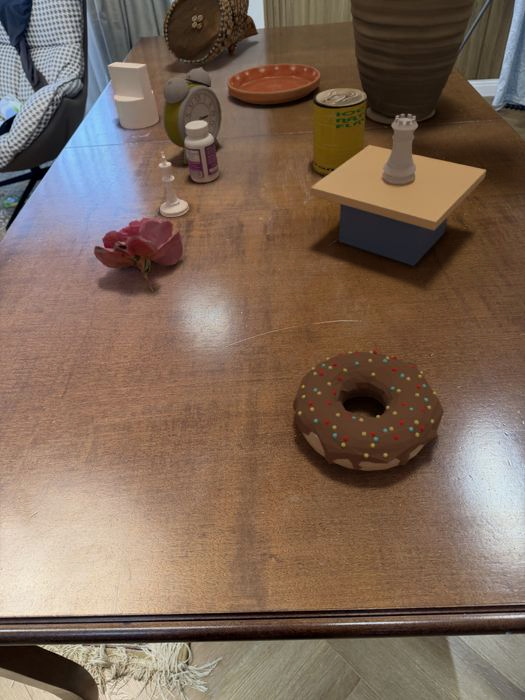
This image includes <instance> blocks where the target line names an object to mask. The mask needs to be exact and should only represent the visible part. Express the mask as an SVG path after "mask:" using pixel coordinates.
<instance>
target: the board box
mask: <svg viewBox="0 0 525 700" xmlns="http://www.w3.org/2000/svg"><path fill="white" fill-rule="evenodd" d="M391 151H392V148H391V149H390V148H385V147H380V146H376V145H372V144H368V145H367V146H366V147H363V150H362V151H360V152H359V153H358V154H356V155H355V156H353V157H352V158H351V159H349V160H348V161H346V162H345V163H344V164H342V165H341V166H340V167H338V168H337V169H335V170H334V171H333V172H331V173H330V174H328V175H325V176H324V177H323V178H322V179H320V180H319V181H317V182H316V183H314V184H313V185H312V186H310V196H312V197H316V198H319V199H322V200H326V201H329V202H333V203H335V204H339V207H340V209H339V235H338V242H340V243H342V244H345V245H349V246H351V247H354V248H358V249H361V250H364V251H367V252H370V253H372V254H376V255H379V256H382V257H385V258H388V259H391V260H394V261H398V262H400V263H403V264H406V265H409V266H413V267H414V266H415V265H416V264H417V263H418V262H419V261H420V260H421V259H422V257H424V256H425V254H427V252H429V250H431V248H432V247H433V246H434V245H435V244H436V242H438V240H439V239H440V238H441V237H442V236H443V235H445V231H446V227H447V221H448V217H449V216H450V215H451V214H452V213H453V212H454V211H455V209H457V208H458V207H459V206H460V204H461V203H462V202H463V201H464V200H465V199H466V198H467V197H468V196H469V195H470V194H471V193H472V192H473V191H474V190H475V189H476V188H477V187H478V186H479V185H480V183H481V182H483V180H484V179H485V177H486V174H487V169H484V168H479V167H476V166H475V167H474V166H470V165H465V164H462V163H461V164H459V163H455V162H452V161H447V160H441V159H437V158H432V157H429V156H423V155H419V154H414V153H412V159H413V160H414V162H413V163H414V164H415V165H416V171H415V172H414V173H415V174H416V176H415V178H414V179H413V180H412V181H411V182H410V183H407V184H403V185H394V184H390V183H388V182H386V181H385V180H384V178H383V176H382V173H383V172H384V170H383V168H384V165H385V163H386V162H387V160H388V158H389V157H390V155H391Z"/></svg>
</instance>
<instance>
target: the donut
mask: <svg viewBox="0 0 525 700" xmlns="http://www.w3.org/2000/svg"><path fill="white" fill-rule="evenodd" d="M356 397H365V398H367V397H368V398H371V399H373V400H376V401H378V402H379V403H380V404H381V405H383V407H384V412H383V413H382V414H381V415H379V414H377V415H376V416H375V417H369V416H364V415H360V414H356V413H353V412H352V411H349V410H346V409H345V407H344V405H343V404H344V403H345V402H346V401H347V400H350V399H352V398H356ZM292 408H293V411H294V416H293V421H294V422H295V424H296V426H297V427H298V429H299V430H300V432H301V434H302V435H303V437H304V439H305V440H306V441H307V443H308V444H309V445H310V446H311V447H312V448H313V449H314V451H315V452H316V453H318V454H319V455H321V456H323V458H324V459H325V460H326V462H327V463H328V465H332V464H337V465H339V466H342V467H344V468H347V469H352V470H356V471H367V472H368V471H380V470H382V471H384V470H388V469H391V468H393V467H394V468H395V467H398V466H406V465H407V463H408V461H409V460H411V459H412V458H414V457H415V456H417V455H418V454H419V452H420V451H421V450H422V449H423V448H424V446H425V445H426V444H428V443H429V442H431V441H432V440H434V439H435V438H436V437H437V436H438V429H439V426H440V424H441V420H442V417H443V415H444V409H443V406H442V404H441V402H440V399H439V397H438V396H437V391H434V390H433V389H432V387H431V385H430V383H429V382H428V381H427V379H426V378H425V376H424V372H423V371H422V370H420V369H419V367H418V366H417V365H416V364H415V363H412V362H408V361H403V360H402V359H400V358H397V356H395V355H391V356H390V355H385V354H380V353H378V351H377V350H373V351H372V350H370V351H357V350H356V351H355V352H352V351H348V353H339V355H335V356H332V357H326V359H325V360H324V361H322V362H320V363H318V364H316V365H315V366H313V367H311V368H310V370H309V371H308V372H307V373H306V374H305V375H304V376H303V377H302V379H301V382H300V384H299V387H298V389H297V392H296V395H295V397H294V400H293V403H292Z"/></svg>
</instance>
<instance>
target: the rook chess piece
mask: <svg viewBox="0 0 525 700" xmlns="http://www.w3.org/2000/svg"><path fill="white" fill-rule="evenodd" d="M404 117H405V114H401V116H400V118H399V116H398V115H397V116H396V118H395V121H394V122H393V123H392V124H390V126H391V128H392V130H393V131H394V132H393V135H392V136H391V139H392V147H391V150H392V151H391V155H390V157H389V158H388V160H387V162H386V163H385V165H384V168H383V170H384V172H383V173H382V176H383V178H384V180H385V181H386V182H388V183H390V184H394V185H403V184H407V183H410V182H411V181H412V180H413V179H414V178H415V176H416V174H415V173H414V172H415V171H416V165H415V164H414V163H413V162H414V160H413V159H412V154H413V141H414V140H415V136H414V132H415V131H416V130H417V128H418V127H419V124H418V122H416V121H415V120H416V117H415V116H413V117H412V115H411V114H408V117H407V118H404Z"/></svg>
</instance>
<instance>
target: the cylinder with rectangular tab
mask: <svg viewBox="0 0 525 700" xmlns="http://www.w3.org/2000/svg"><path fill="white" fill-rule="evenodd" d="M107 69H108V73H109V76H110V77H109V78H110V82H111V85H112V89H113V94H114V95H113V100H114V105H115V107H116V112H117V116H118V121H119V123H120V126H121V128H124V129H126V130H141V129H145V128H149V127H151V126H154V125H156V124H157V123H158V122H159V120H160V116H159V113H158V107H157V102H156V97H155V94H154V93H155V92H154V90H152V85H151V81H150V76H149V72H148V67H147V64H146V63H136V62H135V63H134V62H123V61H122V62H120V61H115V62H112V63H110V64H108V65H107Z"/></svg>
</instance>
